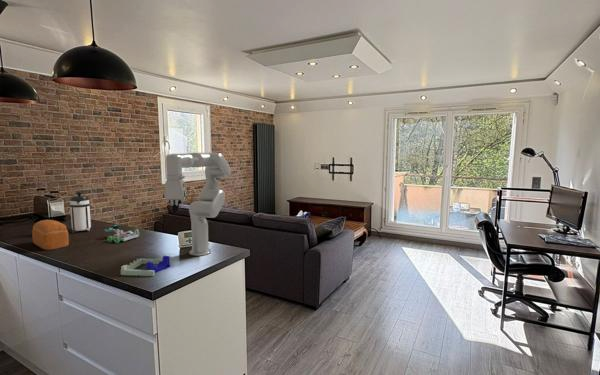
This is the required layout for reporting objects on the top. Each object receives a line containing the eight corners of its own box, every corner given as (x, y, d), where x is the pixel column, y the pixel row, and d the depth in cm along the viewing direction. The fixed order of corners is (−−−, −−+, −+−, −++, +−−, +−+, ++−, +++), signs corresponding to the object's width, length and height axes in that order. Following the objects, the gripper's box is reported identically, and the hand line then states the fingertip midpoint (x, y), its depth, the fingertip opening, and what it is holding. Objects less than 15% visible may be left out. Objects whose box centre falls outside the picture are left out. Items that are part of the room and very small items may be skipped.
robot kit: (117, 234, 237) (116, 221, 236) (143, 237, 229) (142, 224, 228) (93, 240, 220) (92, 227, 219) (121, 244, 211) (120, 230, 210)
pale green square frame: (140, 262, 176) (140, 255, 175) (170, 263, 175) (170, 256, 174) (120, 274, 158) (120, 267, 158) (153, 276, 157) (153, 268, 157)
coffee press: (99, 229, 250) (96, 191, 247) (78, 234, 235) (75, 193, 232) (83, 227, 256) (81, 190, 253) (62, 232, 241) (59, 192, 238)
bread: (44, 251, 195) (42, 225, 194) (31, 243, 211) (29, 220, 209) (70, 246, 206) (69, 222, 204) (56, 239, 222) (55, 216, 220)
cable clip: (163, 266, 172) (163, 255, 171) (169, 267, 170) (169, 256, 169) (144, 273, 161) (144, 262, 160) (151, 275, 159) (150, 263, 158)
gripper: (191, 177, 170) (192, 211, 173) (164, 177, 171) (165, 211, 174) (185, 178, 163) (186, 214, 165) (157, 178, 164) (158, 213, 166)
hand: (175, 212), depth 169 cm, fingers closed
